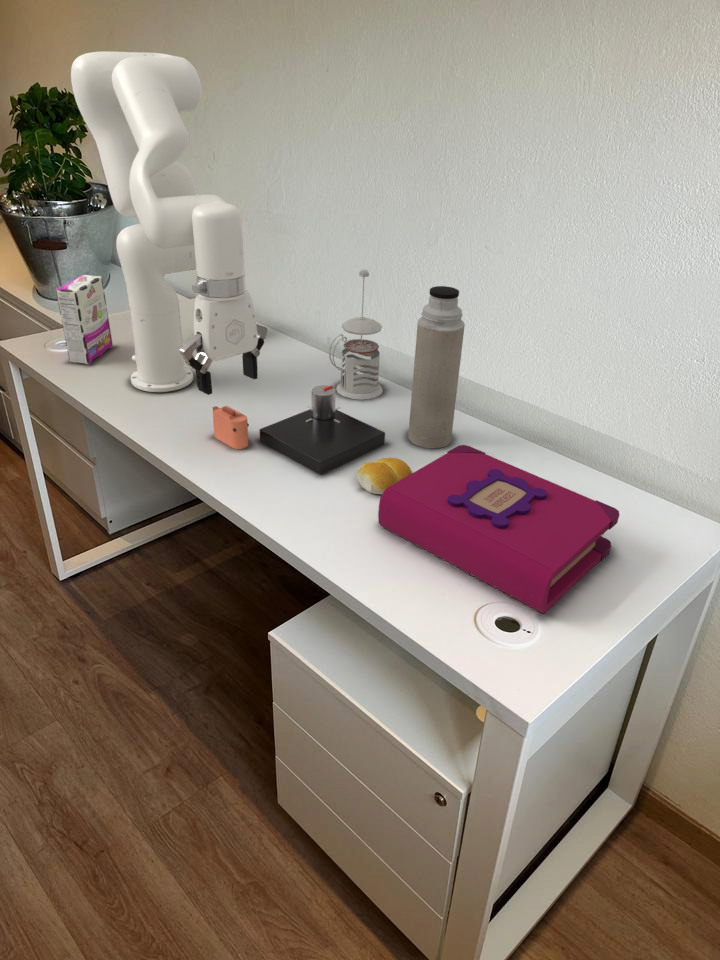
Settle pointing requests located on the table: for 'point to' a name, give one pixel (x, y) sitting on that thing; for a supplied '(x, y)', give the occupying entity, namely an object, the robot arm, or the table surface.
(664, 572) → the table surface
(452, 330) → the thermos bottle
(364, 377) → the french press
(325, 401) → the knob
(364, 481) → the bread roll
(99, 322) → the candy bar box
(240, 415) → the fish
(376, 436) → the hot plate
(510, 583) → the book
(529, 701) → the table surface
